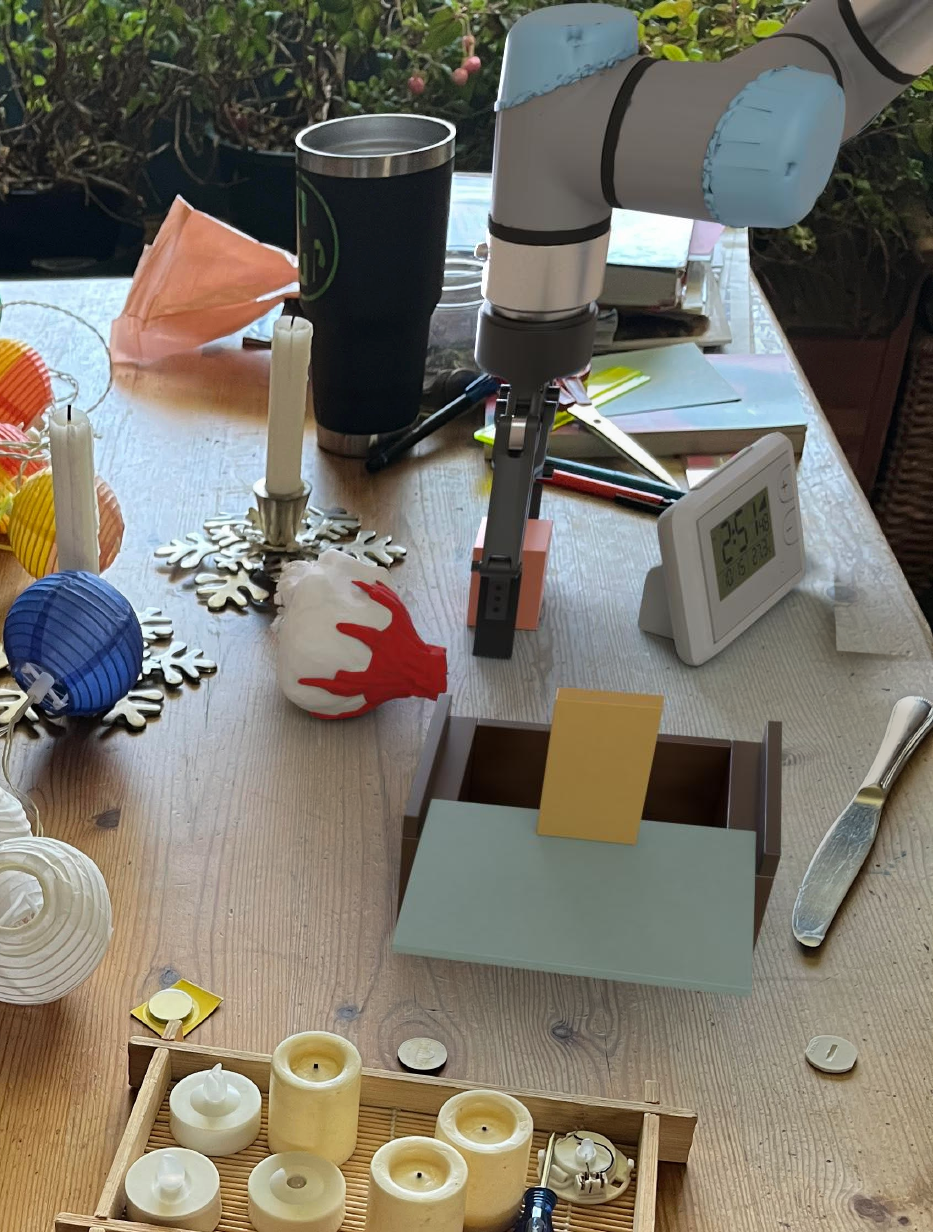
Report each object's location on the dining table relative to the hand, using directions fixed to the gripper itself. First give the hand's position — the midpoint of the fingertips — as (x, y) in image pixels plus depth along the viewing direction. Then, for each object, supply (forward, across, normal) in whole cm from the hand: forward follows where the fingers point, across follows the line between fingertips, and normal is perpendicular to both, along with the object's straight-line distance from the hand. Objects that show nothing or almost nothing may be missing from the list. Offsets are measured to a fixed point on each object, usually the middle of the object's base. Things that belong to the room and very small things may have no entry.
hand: (503, 609), depth 115 cm
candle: (0, +14, -9) cm, 17 cm away
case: (0, +34, +8) cm, 35 cm away
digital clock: (0, -1, +15) cm, 15 cm away
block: (0, 0, 0) cm, 0 cm away
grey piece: (-8, +44, +8) cm, 46 cm away
